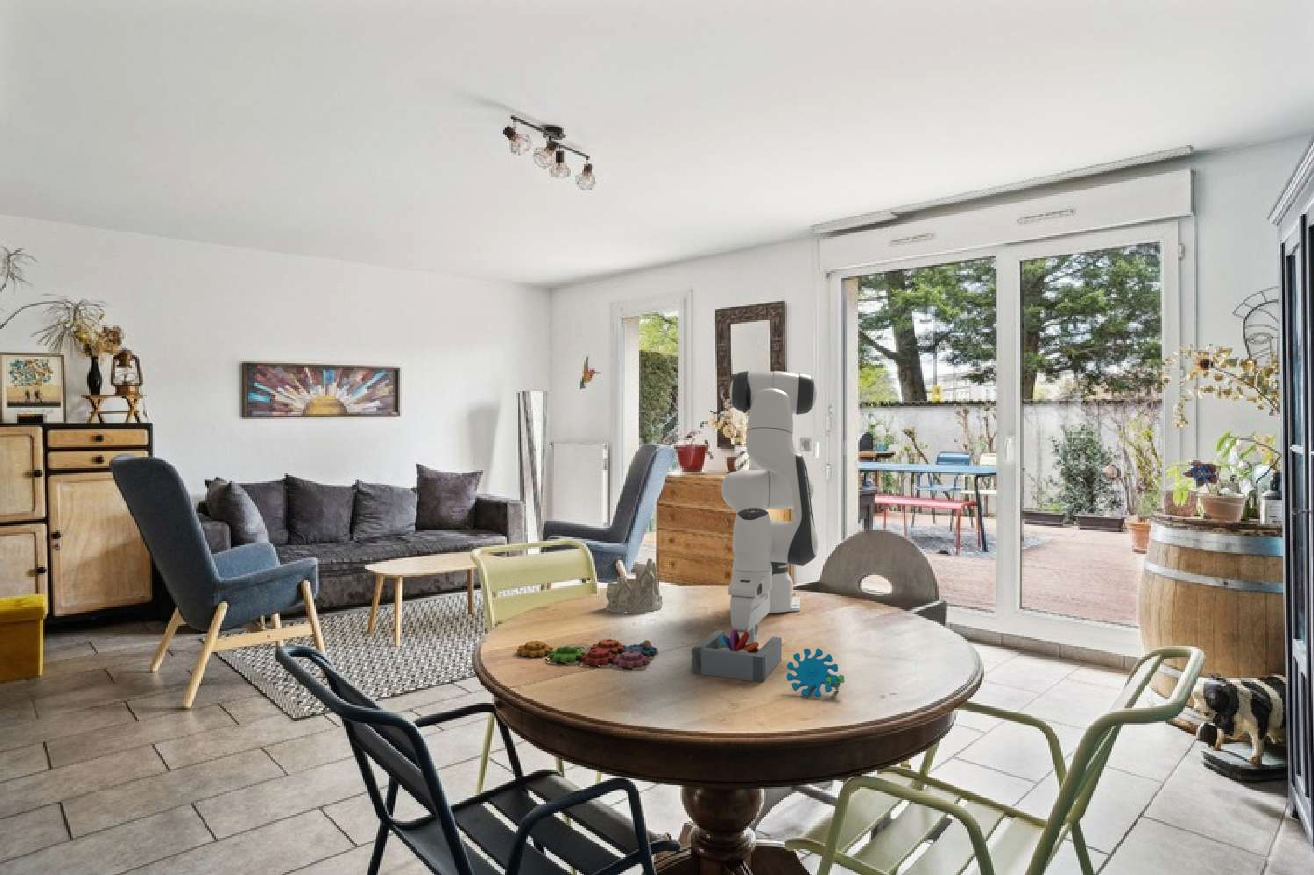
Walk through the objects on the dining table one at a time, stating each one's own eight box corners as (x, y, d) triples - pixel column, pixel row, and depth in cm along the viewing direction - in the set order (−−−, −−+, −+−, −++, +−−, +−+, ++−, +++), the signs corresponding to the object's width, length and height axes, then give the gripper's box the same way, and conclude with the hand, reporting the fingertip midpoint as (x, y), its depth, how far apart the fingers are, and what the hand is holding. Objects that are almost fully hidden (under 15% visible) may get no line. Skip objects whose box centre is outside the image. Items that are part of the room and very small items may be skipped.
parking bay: (715, 652, 174) (715, 630, 174) (781, 660, 168) (781, 637, 168) (691, 672, 159) (691, 648, 159) (762, 682, 153) (762, 657, 153)
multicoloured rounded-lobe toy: (753, 672, 159) (754, 637, 159) (709, 667, 163) (709, 633, 163) (764, 661, 167) (764, 628, 167) (721, 656, 171) (722, 623, 171)
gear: (778, 685, 146) (795, 640, 152) (782, 699, 150) (798, 655, 156) (835, 703, 141) (850, 655, 147) (837, 717, 145) (852, 671, 151)
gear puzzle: (505, 663, 166) (505, 644, 166) (533, 643, 182) (533, 626, 182) (644, 674, 160) (645, 654, 159) (661, 652, 175) (662, 634, 175)
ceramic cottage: (667, 601, 225) (664, 550, 225) (656, 616, 209) (653, 562, 209) (616, 602, 228) (612, 552, 228) (601, 617, 212) (597, 563, 212)
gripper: (751, 572, 185) (750, 629, 185) (725, 588, 166) (725, 652, 166) (776, 574, 182) (776, 632, 183) (753, 591, 164) (753, 656, 164)
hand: (751, 642), depth 174 cm, fingers closed
